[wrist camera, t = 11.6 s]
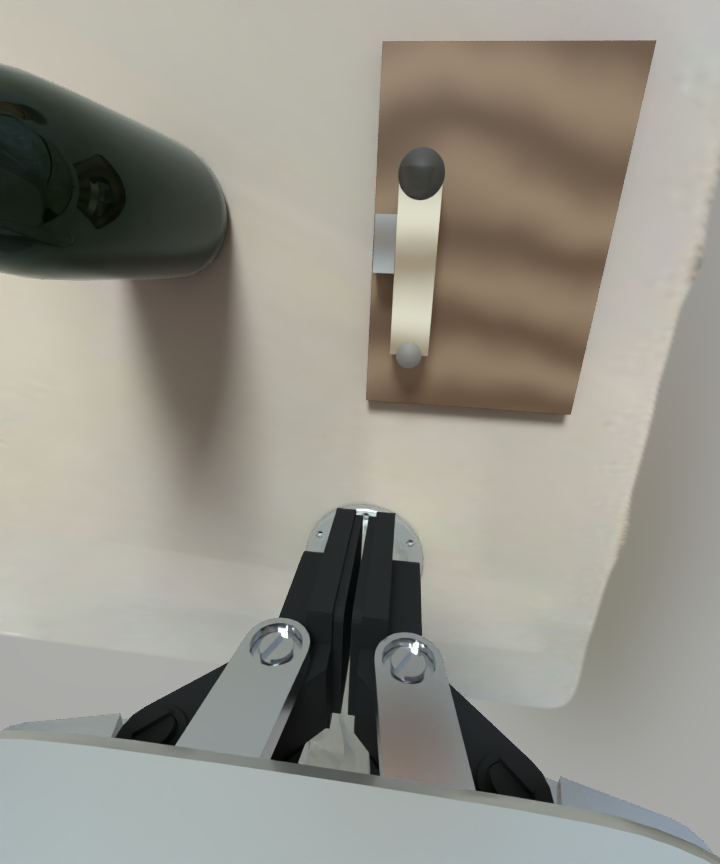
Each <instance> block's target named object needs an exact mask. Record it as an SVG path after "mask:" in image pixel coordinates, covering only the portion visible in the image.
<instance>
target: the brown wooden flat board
mask: <svg viewBox="0 0 720 864" xmlns="http://www.w3.org/2000/svg"><path fill="white" fill-rule="evenodd" d="M655 44H656V41H383V46H382V68H381V90H380V111H379V133H378V154H377V176H376V198H375V219H374V241H373V262H372V284H371V306H370V327H369V349H368V370H367V392H366V400H371V401H385V402H400V403H414V404H428V405H442V406H456V407H470V408H484V409H498V410H513V411H527V412H541V413H555V414H569V415H571V411H572V406H573V402H574V398H575V393H576V389H577V384H578V380H579V376H580V371H581V367H582V363H583V358H584V354H585V350H586V345H587V341H588V336H589V332H590V328H591V323H592V319H593V315H594V310H595V306H596V302H597V297H598V293H599V288H600V284H601V280H602V275H603V271H604V267H605V262H606V258H607V254H608V249H609V245H610V240H611V236H612V232H613V227H614V223H615V219H616V214H617V210H618V206H619V201H620V197H621V192H622V188H623V184H624V179H625V175H626V171H627V166H628V162H629V158H630V153H631V149H632V144H633V140H634V136H635V131H636V127H637V123H638V118H639V114H640V109H641V105H642V101H643V96H644V92H645V88H646V83H647V79H648V75H649V70H650V66H651V61H652V57H653V53H654V48H655ZM419 147H428V148H431V149H433V150H435V151H436V152H437V153H438V154H439V155H440V156H441V158H442V160H443V162H444V166H445V178H444V182H443V187H442V198H441V210H440V221H439V233H438V244H437V256H436V267H435V279H434V290H433V302H432V313H431V325H430V336H429V348H428V356H421V360H420V362H419V364H418V365H417V366H415V367H413V368H404V367H402V366H401V365H399V363H398V362H397V359H396V354H390V341H391V323H392V305H393V286H394V268H395V250H396V232H397V213H398V195H399V180H398V171H399V167H400V164H401V162H402V160H403V158H404V157H405V156H406V155H407V154H408V153H409V152H410V151H411V150H413V149H415V148H419Z"/></svg>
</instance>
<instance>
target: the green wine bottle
mask: <svg viewBox="0 0 720 864" xmlns="http://www.w3.org/2000/svg"><path fill="white" fill-rule="evenodd" d="M226 227H227V208H226V204H225V199H224V195H223V192H222V189H221V187H220V184H219V182H218V180H217V178H216V177H215V175H214V173H213V172H212V170H211V168H210V167H209V166H208V165H207V164H206V163H205V161H204V160H203V159H202V158H201V157H200V156H199V155H197V154H196V153H195V152H194V151H192V150H191V149H190V148H188V147H186V146H185V145H183V144H181V143H180V142H178V141H176V140H174V139H172V138H170V137H168V136H166V135H164V134H162V133H160V132H158V131H156V130H154V129H152V128H150V127H148V126H146V125H144V124H142V123H140V122H138V121H136V120H134V119H132V118H129V117H127V116H125V115H123V114H121V113H119V112H117V111H115V110H113V109H111V108H108V107H106V106H104V105H102V104H100V103H98V102H96V101H94V100H91V99H89V98H87V97H85V96H83V95H81V94H79V93H77V92H74V91H72V90H70V89H68V88H66V87H64V86H61V85H59V84H56V83H54V82H51V81H49V80H46V79H44V78H41V77H39V76H37V75H34V74H32V73H29V72H27V71H24V70H22V69H19V68H16V67H12V66H9V65H6V64H2V63H0V273H4V274H9V275H13V276H18V277H23V278H32V279H48V280H73V281H94V280H141V279H167V278H176V277H183V276H189V275H192V274H195V273H197V272H199V271H201V270H202V269H204V268H205V267H207V266H208V265H209V264H210V263H211V262H212V261H213V259H214V258H215V257H216V256H217V254H218V252H219V250H220V249H221V247H222V244H223V241H224V238H225V234H226Z"/></svg>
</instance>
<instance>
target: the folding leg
mask: <svg viewBox="0 0 720 864" xmlns="http://www.w3.org/2000/svg"><path fill="white" fill-rule="evenodd" d="M444 178H445V166H444V162H443V160H442V158H441V156H440V155H439V154H438V153H437V152H436V151H435V150H433V149H431V148H428V147H419V148H415V149H413V150H411V151H410V152H409V153H408V154H407V155H406V156H405V157H404V158H403V160H402V162H401V164H400V167H399V171H398V180H399V195H398V213H397V232H396V250H395V268H394V286H393V305H392V323H391V341H390V354H396V359H397V362H398V363H399V365H401V366H402V367H404V368H413V367H415V366H417V365H418V364H419V362H420V360H421V356H428V348H429V336H430V325H431V313H432V302H433V290H434V279H435V267H436V256H437V244H438V233H439V221H440V210H441V198H442V187H443V182H444Z"/></svg>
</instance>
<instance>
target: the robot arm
mask: <svg viewBox="0 0 720 864" xmlns="http://www.w3.org/2000/svg"><path fill="white" fill-rule="evenodd" d="M366 513H368V514H366ZM422 568H423V553H422V547H421V544H420V541H419V538H418V537H417V535H416V533H415V532H414V530H413V529H412V528H411V527H410V526H409V525H408V523H407V522H406V521H404V520H403V519H402V518H400V517H399V516H398V515H396V513H392V512H390V511H388V510H385V509H382V508H379V507H375V506H368V505H352V506H347V507H343V508H337V510H335V511H332V512H331V513H329V514H328V515H326V516H325V517H323V518H322V519H321V520H320V521H319V522H318V523H317V524H316V526H315V527H314V529H313V531H312V532H311V535H310V537H309V540H308V544H307V548H306V551H305V552H304V553H303V555H302V557H301V560H300V563H299V565H298V568H297V571H296V573H295V576H294V579H293V581H292V584H291V587H290V589H289V592H288V595H287V597H286V600H285V603H284V605H283V608H282V611H281V613H280V616H279V618H274V619H269V620H266V621H263V622H261V623H259V624H258V625H256V626H255V627H253V628H252V629H251V630H250V631H249V633H248V634H247V635H246V636H245V638H244V639H243V641H242V642H241V644H240V646H239V647H238V649H237V650H236V652H235V653H234V655H233V656H232V658H231V660H230V661H229V662H228V663H226V664H224V665H222V666H221V667H219V668H217V669H215V670H213V671H211V672H209V673H208V674H206V675H204V676H202V677H200V678H198V679H196V680H194V681H193V682H191V683H189V684H187V685H185V686H183V687H181V688H180V689H178V690H176V691H174V692H172V693H170V694H168V695H166V696H165V697H163V698H161V699H159V700H157V701H155V702H153V703H151V704H150V705H148V706H146V707H144V708H143V709H141V710H140V711H138V712H137V713H135V714H134V715H133V716H132V717H131V718H130V719H121V714H111V715H100V716H89V717H79V718H69V719H58V720H47V721H36V722H26V723H21V724H17V725H13V726H10V727H8V728H6V729H4V730H2V731H0V864H720V857H718V856H716V855H714V854H713V853H712V851H711V850H710V849H709V848H708V847H707V845H706V844H705V843H704V841H703V840H702V839H701V838H699V837H698V836H697V835H696V834H695V833H694V832H692V831H691V830H690V829H689V828H688V827H686V826H684V825H683V824H681V823H679V822H677V821H675V820H673V819H671V818H669V817H667V816H664V815H661V814H659V813H656V812H653V811H651V810H648V809H645V808H643V807H640V806H637V805H635V804H632V803H629V802H627V801H624V800H621V799H619V798H616V797H613V796H610V795H608V794H606V793H603V792H600V791H598V790H595V789H592V788H590V787H587V786H584V785H581V784H579V783H576V782H574V781H571V780H568V779H566V778H563V777H560V779H559V782H556V781H554V780H551V779H548V778H546V777H544V776H543V774H542V772H541V771H540V770H539V769H538V768H537V767H536V766H535V764H534V763H533V762H532V761H531V760H530V759H529V758H528V757H527V756H526V755H525V754H524V753H522V752H521V751H520V750H519V749H518V748H517V747H516V746H515V745H514V744H513V743H512V742H511V741H510V740H509V739H508V738H506V737H505V736H504V735H503V734H502V733H501V732H500V731H499V730H498V729H497V728H496V727H495V726H494V725H493V724H492V723H491V722H490V721H488V720H487V719H486V718H485V717H484V716H483V715H482V714H481V713H480V712H479V711H478V710H477V709H476V708H475V707H474V706H472V705H471V704H470V703H469V702H468V701H467V700H466V699H465V698H464V697H463V696H462V695H461V694H460V693H459V692H458V691H457V690H455V689H454V688H453V687H452V686H451V685H450V684H449V682H448V678H447V674H446V670H445V666H444V662H443V659H442V657H441V654H440V652H439V650H438V649H437V648H436V647H435V645H434V644H433V643H432V642H430V641H429V640H427V639H426V638H425V637H422V622H421V583H420V576H421V572H422Z"/></svg>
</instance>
